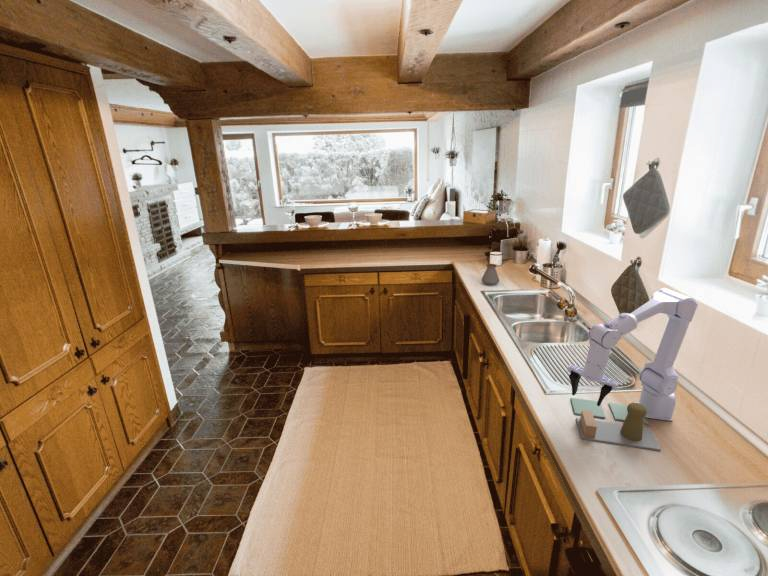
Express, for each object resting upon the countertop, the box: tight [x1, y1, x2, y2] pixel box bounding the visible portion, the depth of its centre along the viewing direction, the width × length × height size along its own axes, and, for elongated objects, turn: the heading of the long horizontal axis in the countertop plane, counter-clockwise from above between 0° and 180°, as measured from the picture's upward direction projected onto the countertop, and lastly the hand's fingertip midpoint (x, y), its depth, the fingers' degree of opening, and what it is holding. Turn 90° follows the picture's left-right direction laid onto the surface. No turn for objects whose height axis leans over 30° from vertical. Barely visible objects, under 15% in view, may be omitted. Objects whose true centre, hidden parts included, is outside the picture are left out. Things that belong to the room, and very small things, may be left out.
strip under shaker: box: [575, 410, 662, 452], centre depth 128 cm, size 22×10×5 cm, turn 75°
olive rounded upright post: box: [620, 402, 647, 441], centre depth 126 cm, size 6×6×11 cm
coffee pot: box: [481, 255, 500, 287], centre depth 267 cm, size 21×12×15 cm, turn 177°
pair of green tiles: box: [570, 397, 648, 425], centre depth 139 cm, size 22×9×1 cm, turn 75°
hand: (586, 399), depth 130 cm, fingers open, 7 cm apart
